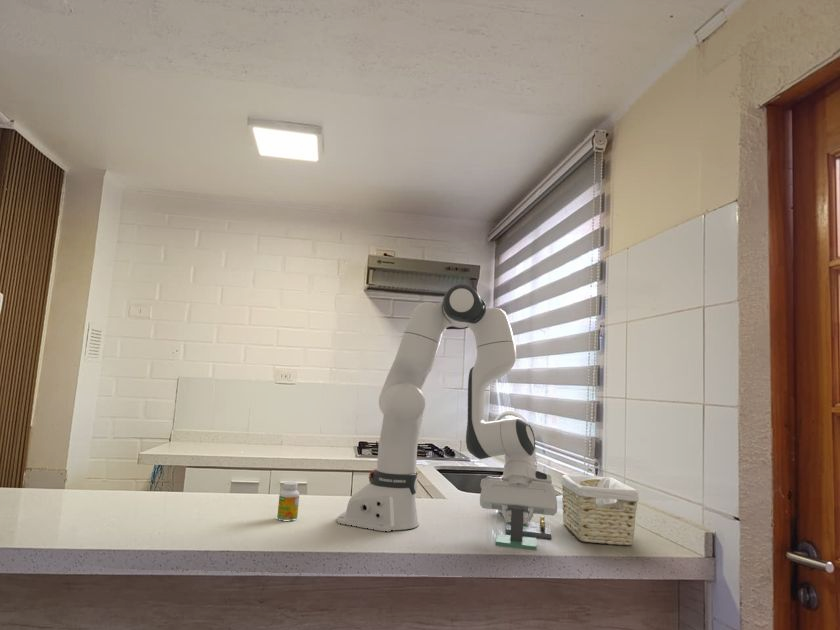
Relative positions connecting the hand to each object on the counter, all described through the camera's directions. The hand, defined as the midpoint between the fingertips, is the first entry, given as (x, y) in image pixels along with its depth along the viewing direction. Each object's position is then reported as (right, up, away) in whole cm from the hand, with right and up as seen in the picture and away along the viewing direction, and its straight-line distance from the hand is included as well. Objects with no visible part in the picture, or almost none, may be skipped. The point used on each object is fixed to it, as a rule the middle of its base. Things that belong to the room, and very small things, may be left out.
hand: (517, 524), depth 138 cm
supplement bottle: (-61, -3, +10) cm, 62 cm away
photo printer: (+4, -9, +31) cm, 33 cm away
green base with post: (0, -5, 0) cm, 5 cm away
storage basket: (+25, -8, +14) cm, 30 cm away
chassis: (+6, -7, +13) cm, 16 cm away
